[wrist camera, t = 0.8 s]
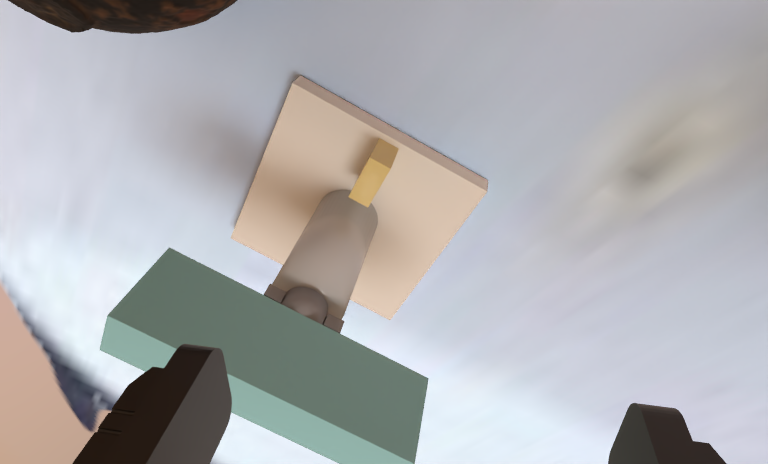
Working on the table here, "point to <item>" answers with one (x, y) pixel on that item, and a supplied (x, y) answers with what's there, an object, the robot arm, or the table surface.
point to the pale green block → (275, 360)
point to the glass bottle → (123, 13)
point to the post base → (334, 163)
